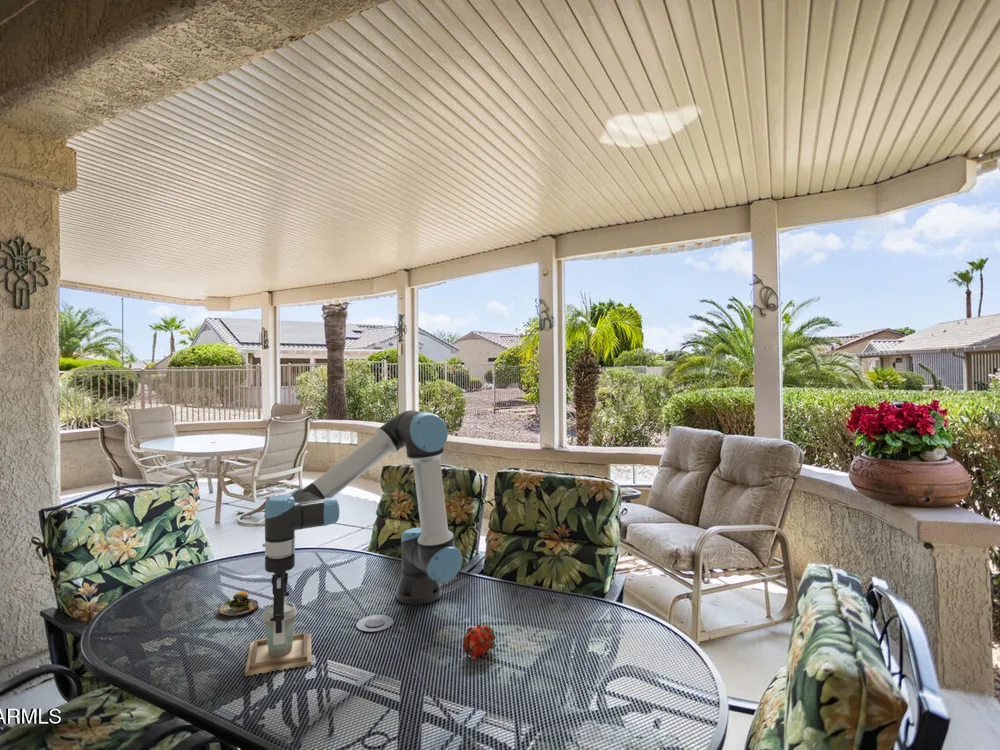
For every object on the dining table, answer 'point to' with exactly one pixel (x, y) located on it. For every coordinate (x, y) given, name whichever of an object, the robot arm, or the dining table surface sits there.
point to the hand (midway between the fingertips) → (280, 631)
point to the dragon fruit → (478, 641)
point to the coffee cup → (289, 629)
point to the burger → (238, 605)
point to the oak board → (265, 663)
